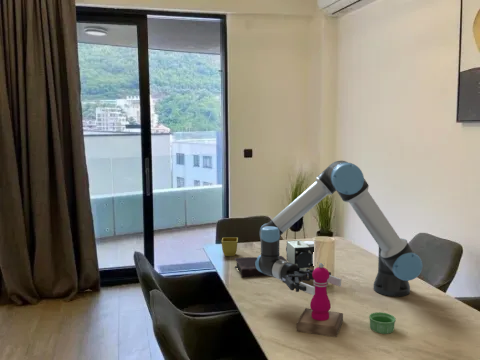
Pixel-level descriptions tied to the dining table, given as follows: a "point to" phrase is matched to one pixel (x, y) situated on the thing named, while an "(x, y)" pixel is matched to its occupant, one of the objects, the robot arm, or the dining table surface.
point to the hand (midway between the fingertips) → (327, 286)
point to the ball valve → (299, 254)
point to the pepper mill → (320, 294)
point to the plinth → (320, 323)
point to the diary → (250, 266)
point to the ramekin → (382, 322)
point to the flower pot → (229, 246)
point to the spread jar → (311, 249)
